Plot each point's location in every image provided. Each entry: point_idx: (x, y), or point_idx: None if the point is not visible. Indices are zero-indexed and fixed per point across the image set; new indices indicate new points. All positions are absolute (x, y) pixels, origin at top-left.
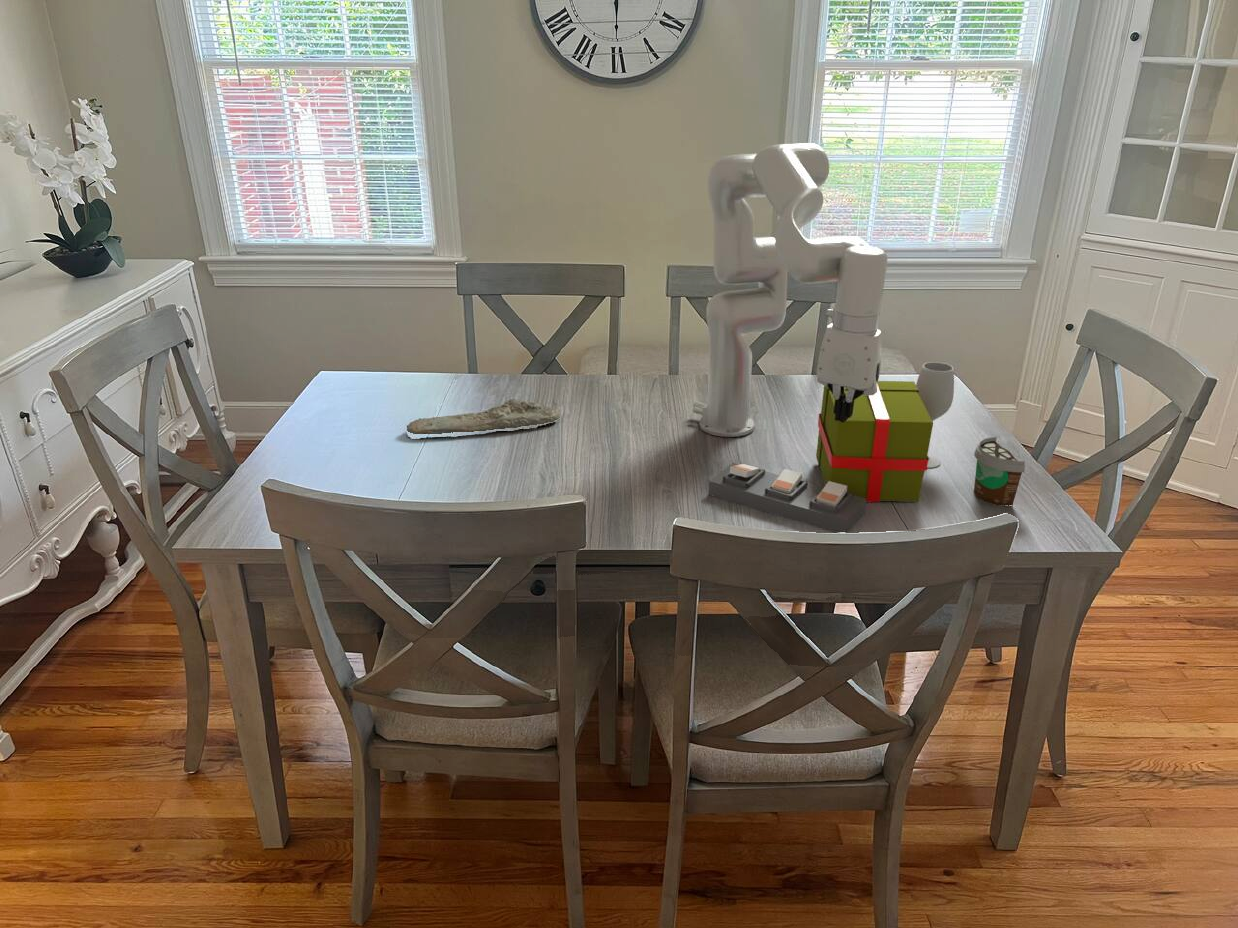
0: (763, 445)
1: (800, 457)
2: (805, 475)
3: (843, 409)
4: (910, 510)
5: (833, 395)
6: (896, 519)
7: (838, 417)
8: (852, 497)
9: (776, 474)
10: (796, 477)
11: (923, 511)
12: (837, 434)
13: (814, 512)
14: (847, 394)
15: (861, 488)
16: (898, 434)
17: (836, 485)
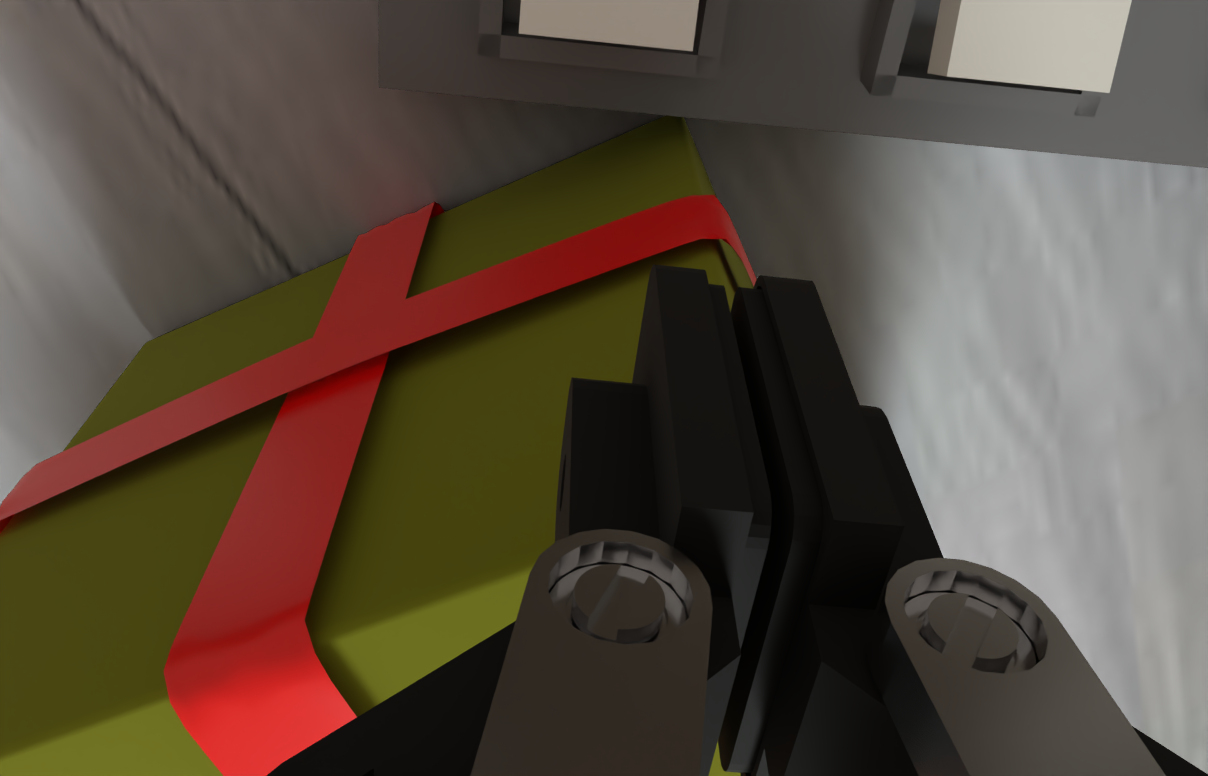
0: (1195, 597)
1: (963, 558)
2: (898, 373)
3: (697, 399)
4: (150, 230)
5: (1050, 634)
6: (169, 60)
7: (758, 313)
8: (483, 56)
9: (1123, 157)
10: (981, 5)
11: (76, 255)
12: None
13: None
14: (685, 698)
15: (471, 231)
16: (129, 611)
17: (609, 6)
